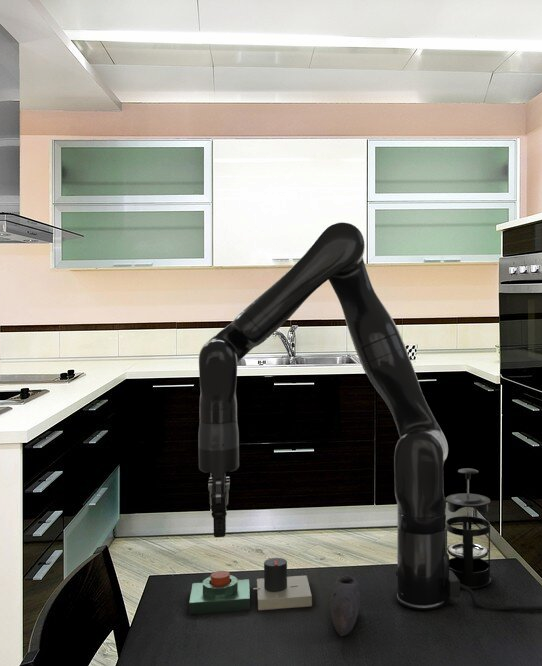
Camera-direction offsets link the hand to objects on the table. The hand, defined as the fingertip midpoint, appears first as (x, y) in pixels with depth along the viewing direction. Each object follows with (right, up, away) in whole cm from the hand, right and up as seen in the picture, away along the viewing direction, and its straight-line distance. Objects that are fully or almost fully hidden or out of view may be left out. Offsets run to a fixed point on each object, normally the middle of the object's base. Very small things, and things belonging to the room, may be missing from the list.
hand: (219, 534), depth 129 cm
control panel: (+12, -13, +2) cm, 18 cm away
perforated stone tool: (+24, -14, -9) cm, 29 cm away
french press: (+49, -13, +11) cm, 52 cm away
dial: (+10, -11, +2) cm, 15 cm away
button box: (0, -13, 0) cm, 13 cm away
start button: (0, -9, 0) cm, 9 cm away
